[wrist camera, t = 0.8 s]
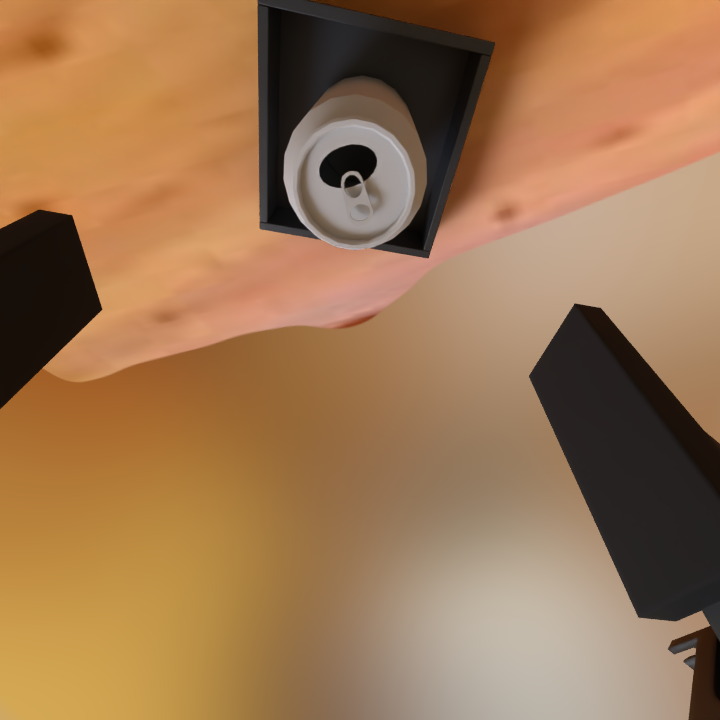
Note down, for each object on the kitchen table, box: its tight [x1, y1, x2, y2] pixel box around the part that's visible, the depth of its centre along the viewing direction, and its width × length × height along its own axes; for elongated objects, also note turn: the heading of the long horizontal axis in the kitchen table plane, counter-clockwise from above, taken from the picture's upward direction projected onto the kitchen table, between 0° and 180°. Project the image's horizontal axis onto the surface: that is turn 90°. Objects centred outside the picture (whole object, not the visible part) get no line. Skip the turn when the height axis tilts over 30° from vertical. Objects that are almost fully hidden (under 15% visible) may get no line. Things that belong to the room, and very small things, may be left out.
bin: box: [258, 0, 495, 258], centre depth 26 cm, size 13×13×4 cm
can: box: [284, 75, 427, 250], centre depth 23 cm, size 8×8×12 cm
